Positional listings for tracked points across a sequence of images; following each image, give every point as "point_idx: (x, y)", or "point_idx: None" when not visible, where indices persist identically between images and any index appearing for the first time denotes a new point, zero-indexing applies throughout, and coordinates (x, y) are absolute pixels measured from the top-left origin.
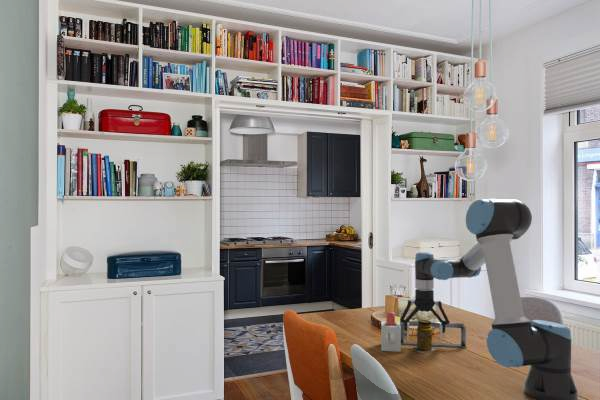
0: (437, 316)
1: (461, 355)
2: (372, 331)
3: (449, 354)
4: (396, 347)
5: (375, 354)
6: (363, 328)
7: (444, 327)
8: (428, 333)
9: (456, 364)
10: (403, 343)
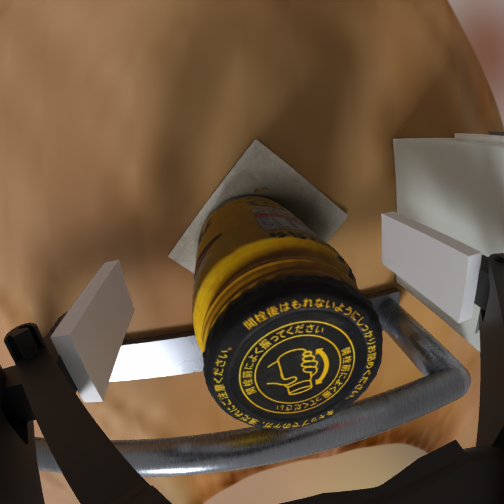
0: (69, 430)
1: (17, 198)
2: (460, 408)
3: (77, 187)
4: (428, 138)
5: (483, 74)
6: (475, 418)
7: (47, 340)
8: (224, 241)
9: (47, 13)
10: (380, 295)
